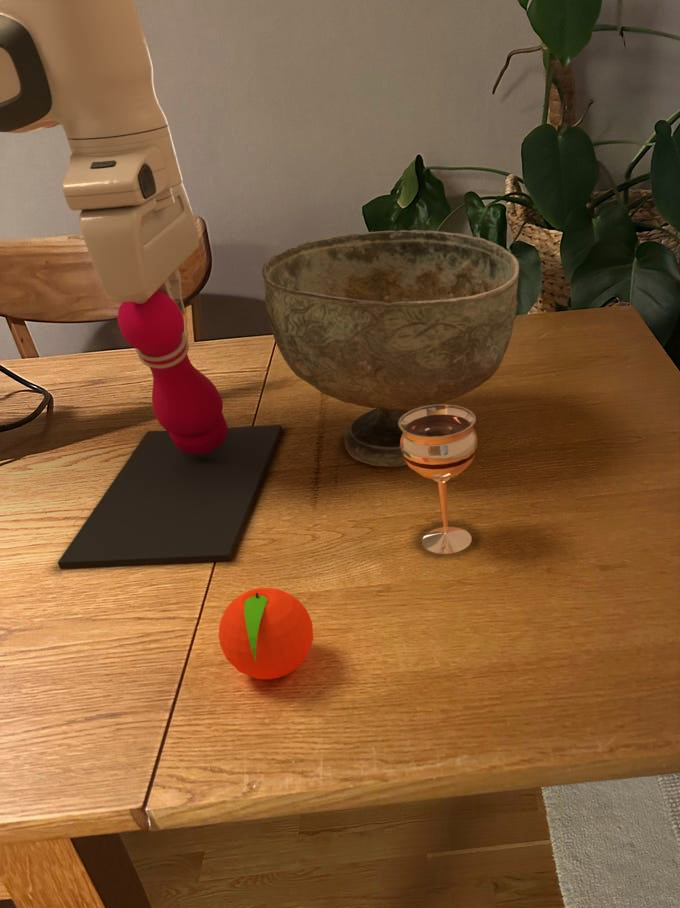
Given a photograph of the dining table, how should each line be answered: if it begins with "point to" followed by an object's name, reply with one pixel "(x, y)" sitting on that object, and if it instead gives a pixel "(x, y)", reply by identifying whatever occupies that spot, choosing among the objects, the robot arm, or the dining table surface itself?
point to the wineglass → (440, 460)
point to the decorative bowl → (392, 323)
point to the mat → (176, 503)
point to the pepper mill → (174, 374)
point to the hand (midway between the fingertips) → (174, 320)
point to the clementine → (266, 633)
